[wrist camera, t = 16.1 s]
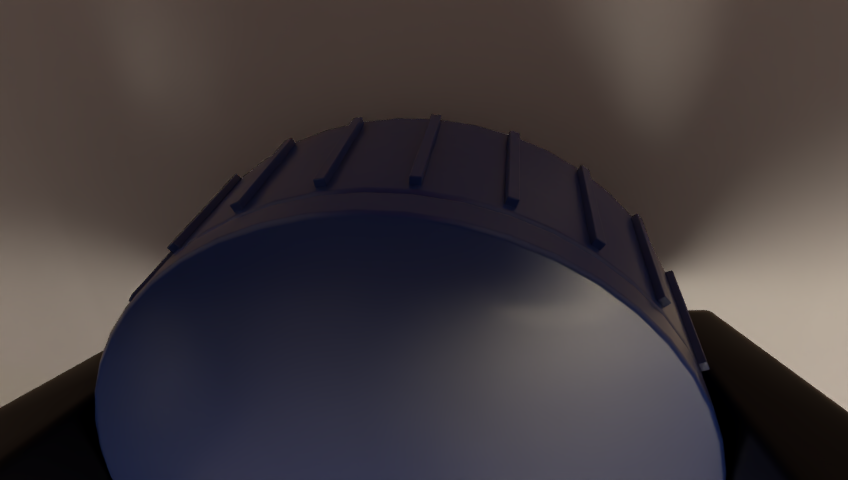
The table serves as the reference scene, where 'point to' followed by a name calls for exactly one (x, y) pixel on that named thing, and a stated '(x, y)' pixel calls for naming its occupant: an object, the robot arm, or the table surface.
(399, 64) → the table surface
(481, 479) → the lid
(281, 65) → the table surface
